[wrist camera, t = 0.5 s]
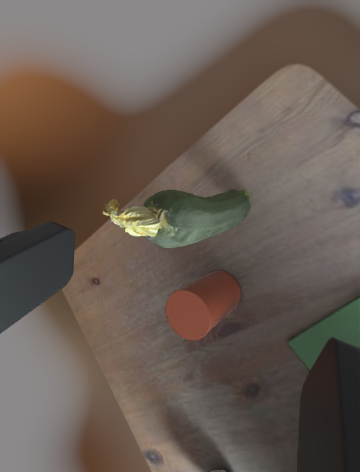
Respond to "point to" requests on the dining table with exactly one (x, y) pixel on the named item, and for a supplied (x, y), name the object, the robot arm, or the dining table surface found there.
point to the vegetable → (181, 216)
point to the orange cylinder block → (202, 304)
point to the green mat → (328, 333)
